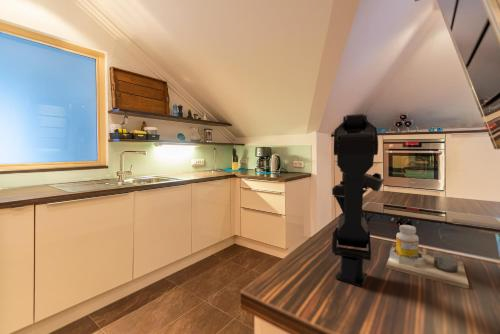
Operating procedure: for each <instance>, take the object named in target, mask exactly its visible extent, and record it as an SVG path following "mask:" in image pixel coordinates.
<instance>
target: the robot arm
mask: <svg viewBox="0 0 500 334" xmlns="http://www.w3.org/2000/svg"><path fill="white" fill-rule="evenodd" d="M342 119H343V120H342V123H340V124H339V125H338V127H336V128H335V129H334V136H333V138H334V139H333V156H336V161H337V163H336V165H337V167H338V168H339V170H340V172H341V176H342V177H341V181H339V184H336V185H334V186H333V187H331V188H332V189H331V192H332V193H331V194H332V196H333V197H334V198H335V200H336V202H337V203H338V206H339V208H340V209H341V212H342V213H340V215H339V218H338V224H337V227H335V228H334V231H332V242H331V243H332V246H331V253H333V254H334V256H339V270H338V272H337V273H336V274H335V279H337V280H339V281H342V282H344V283H349V284H352V285H355V286H356V287H357V286H359V287H363V286H364V284H365V282H366V280H367V278H368V273H365V260H366V261H370V262H371V257H372V249H371V246H372V245H371V233H370V232H371V231H370V230H368V223H367V220H366V217H365V216H364V215H363V200H364V199H363V198H364V194H365V193H367V191H368V190H369V189H371V190H372V191H375V192H379V191H380V190H381V188H382V186H383V184H384V182H385V180H384V179H383V178H382V174H380V173H379V172H374V173H373V174H369V173H367V172H369V170H371V168H372V167H374V160H375V156H378V153H379V137H378V129H377V127H376V126H374V125H373V124H372V123H371V122H369V121H368V118H367V114H363V113H359V114H346V115H345V116H343V117H342ZM342 246H343V247H342ZM348 247H349V248H348ZM350 247H352V248H350ZM356 248H359V249H356ZM365 249H366V250H365Z"/></svg>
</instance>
